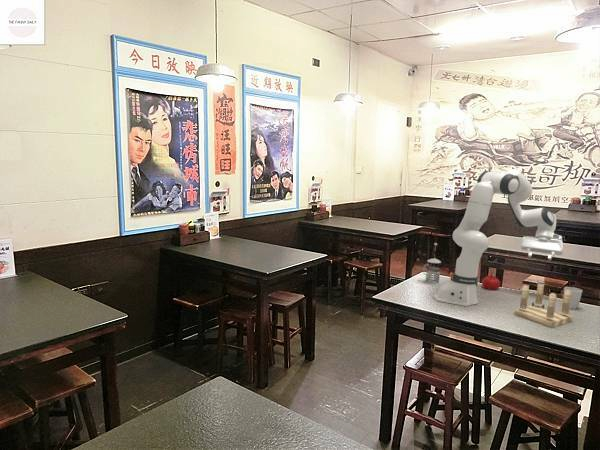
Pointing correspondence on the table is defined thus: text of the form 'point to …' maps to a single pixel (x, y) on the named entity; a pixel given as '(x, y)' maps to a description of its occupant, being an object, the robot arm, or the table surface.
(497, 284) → the pomegranate
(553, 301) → the stool
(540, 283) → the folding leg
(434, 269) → the french press
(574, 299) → the cup
